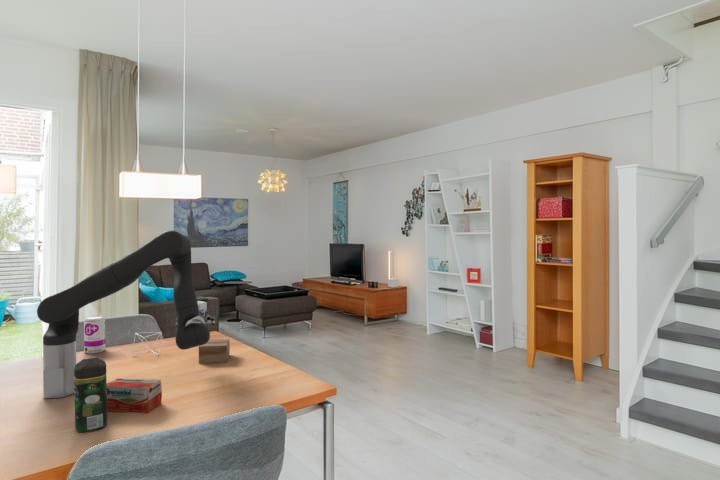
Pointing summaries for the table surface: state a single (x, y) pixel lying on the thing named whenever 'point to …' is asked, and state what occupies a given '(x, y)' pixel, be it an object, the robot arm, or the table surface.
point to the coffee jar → (90, 394)
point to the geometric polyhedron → (145, 344)
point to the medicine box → (133, 395)
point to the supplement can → (94, 334)
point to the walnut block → (214, 351)
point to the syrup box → (202, 308)
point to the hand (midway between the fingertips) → (196, 317)
